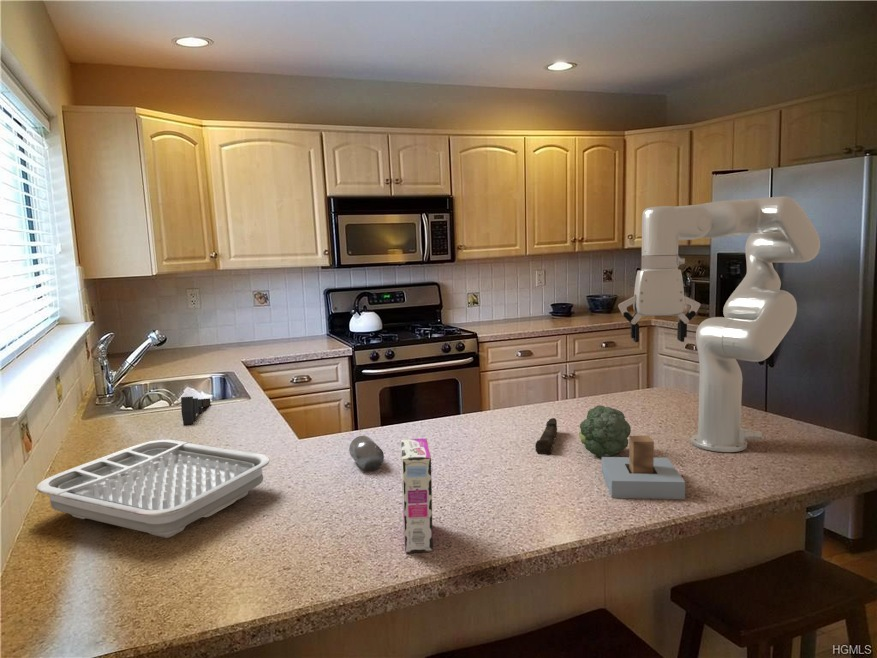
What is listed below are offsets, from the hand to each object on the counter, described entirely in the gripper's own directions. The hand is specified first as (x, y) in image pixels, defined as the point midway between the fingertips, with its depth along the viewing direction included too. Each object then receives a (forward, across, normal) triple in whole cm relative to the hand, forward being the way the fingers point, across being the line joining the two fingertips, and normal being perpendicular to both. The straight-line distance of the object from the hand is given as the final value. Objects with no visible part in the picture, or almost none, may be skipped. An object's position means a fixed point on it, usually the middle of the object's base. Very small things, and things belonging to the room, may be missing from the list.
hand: (658, 341), depth 136 cm
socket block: (+28, +6, +13) cm, 32 cm away
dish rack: (+29, +104, +28) cm, 111 cm away
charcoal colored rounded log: (+29, +24, -14) cm, 40 cm away
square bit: (+28, +6, +13) cm, 32 cm away
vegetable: (+29, +11, -8) cm, 32 cm away
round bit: (+25, +69, 0) cm, 73 cm away
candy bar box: (+28, +49, +39) cm, 69 cm away
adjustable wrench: (+29, +132, -40) cm, 141 cm away
